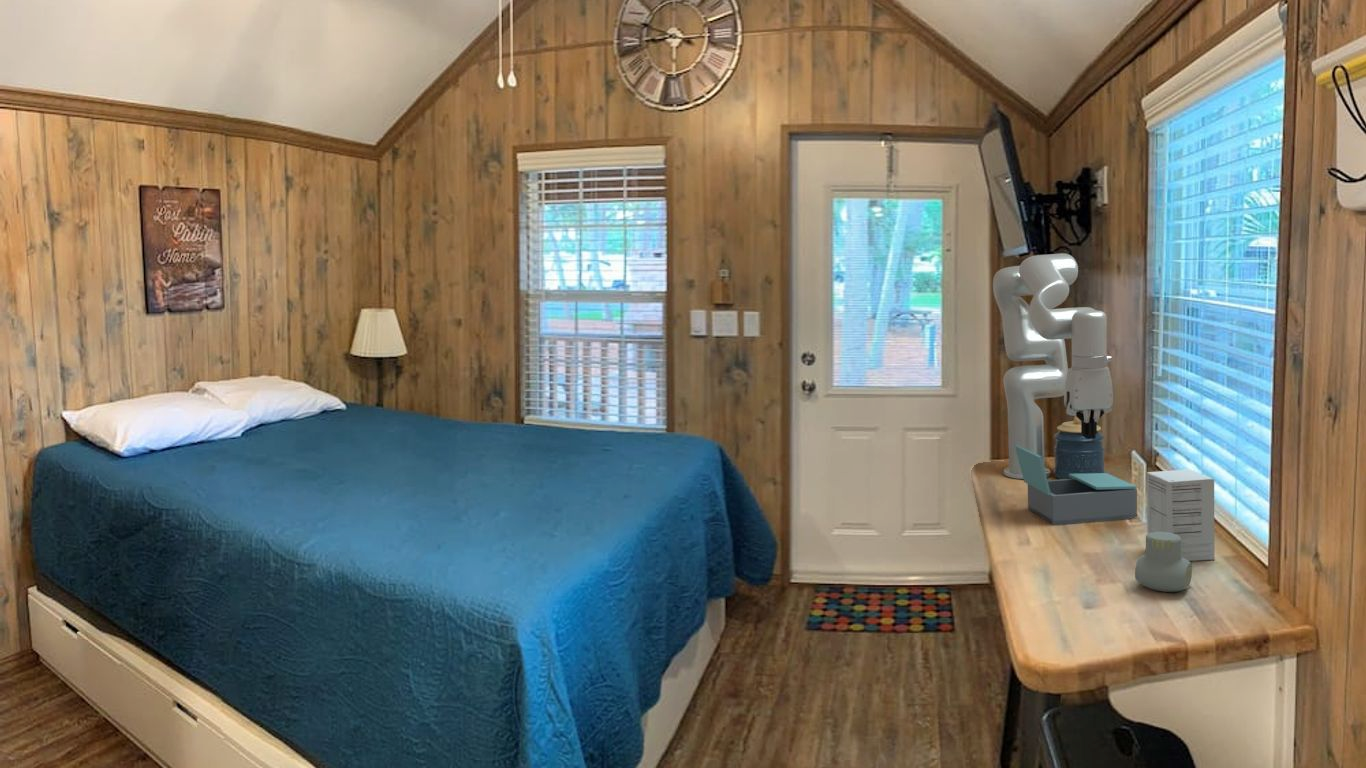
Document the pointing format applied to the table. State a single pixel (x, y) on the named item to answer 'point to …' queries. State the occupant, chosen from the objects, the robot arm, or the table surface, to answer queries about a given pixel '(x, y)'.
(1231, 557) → the table surface
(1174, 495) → the supplement box
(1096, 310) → the robot arm
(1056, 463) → the canister
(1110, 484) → the flap
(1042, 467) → the flap
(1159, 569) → the air freshener
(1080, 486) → the box
